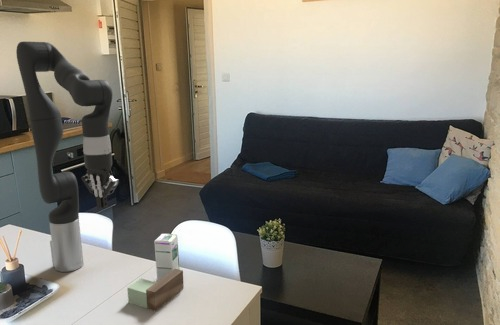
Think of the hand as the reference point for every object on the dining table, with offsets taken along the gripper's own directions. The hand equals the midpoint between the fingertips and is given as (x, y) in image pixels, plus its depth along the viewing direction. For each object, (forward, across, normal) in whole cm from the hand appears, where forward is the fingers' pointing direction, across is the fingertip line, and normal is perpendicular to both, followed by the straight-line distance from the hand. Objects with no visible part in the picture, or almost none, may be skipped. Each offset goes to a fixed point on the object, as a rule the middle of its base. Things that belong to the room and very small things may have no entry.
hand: (102, 208), depth 126 cm
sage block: (+27, +13, 0) cm, 30 cm away
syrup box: (+27, +12, +14) cm, 33 cm away
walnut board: (+27, +18, +4) cm, 33 cm away
